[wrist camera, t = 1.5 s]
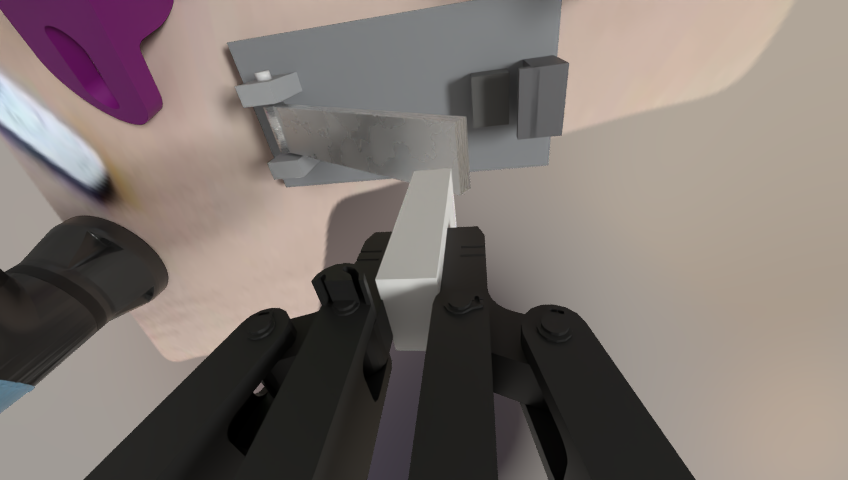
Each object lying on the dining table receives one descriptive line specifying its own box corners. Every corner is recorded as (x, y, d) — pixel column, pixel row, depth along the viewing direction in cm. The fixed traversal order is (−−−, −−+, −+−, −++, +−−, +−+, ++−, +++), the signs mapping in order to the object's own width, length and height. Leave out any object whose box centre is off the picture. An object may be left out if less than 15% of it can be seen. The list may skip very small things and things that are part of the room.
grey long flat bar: (294, 145, 31) (277, 151, 30) (278, 101, 29) (259, 107, 28) (474, 185, 19) (456, 198, 18) (470, 114, 17) (449, 124, 16)
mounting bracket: (209, 92, 39) (156, -99, 24) (161, 138, 35) (60, -55, 20) (127, 51, 38) (12, -181, 22) (66, 95, 33) (-126, -153, 18)
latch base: (294, 179, 38) (263, 209, 32) (239, 41, 30) (186, 47, 24) (544, 157, 33) (560, 188, 28) (556, -14, 25) (582, -21, 20)
